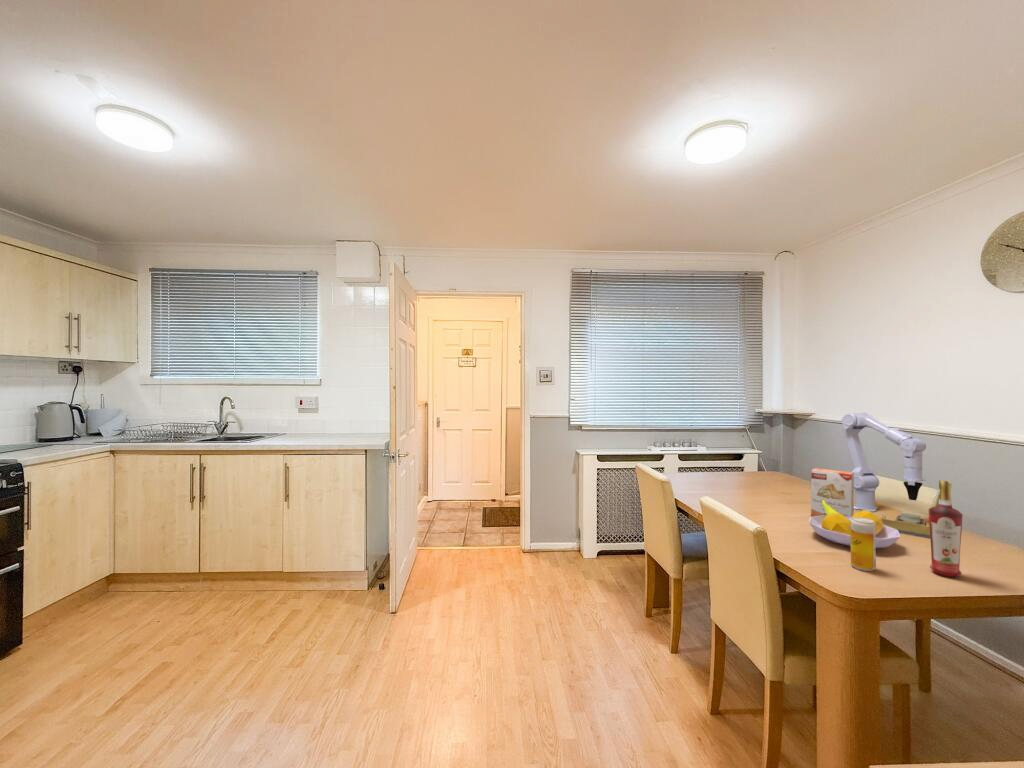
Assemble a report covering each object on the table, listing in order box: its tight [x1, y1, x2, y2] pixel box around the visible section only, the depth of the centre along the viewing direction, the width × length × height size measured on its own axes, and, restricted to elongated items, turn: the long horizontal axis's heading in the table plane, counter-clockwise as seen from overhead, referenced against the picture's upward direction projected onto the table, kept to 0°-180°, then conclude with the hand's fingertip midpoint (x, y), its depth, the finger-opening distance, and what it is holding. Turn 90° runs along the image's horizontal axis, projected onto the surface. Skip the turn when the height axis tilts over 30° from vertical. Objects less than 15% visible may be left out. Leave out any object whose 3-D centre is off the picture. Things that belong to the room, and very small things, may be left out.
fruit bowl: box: [808, 500, 901, 549], centre depth 161 cm, size 28×27×11 cm
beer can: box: [850, 518, 877, 572], centre depth 137 cm, size 6×6×15 cm
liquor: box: [928, 480, 963, 578], centre depth 132 cm, size 7×7×28 cm
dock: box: [880, 514, 931, 540], centre depth 173 cm, size 16×18×4 cm
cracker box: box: [810, 467, 855, 517], centre depth 185 cm, size 14×6×21 cm, turn 45°
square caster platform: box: [894, 511, 927, 526], centre depth 172 cm, size 10×9×5 cm
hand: (912, 499), depth 183 cm, fingers closed
